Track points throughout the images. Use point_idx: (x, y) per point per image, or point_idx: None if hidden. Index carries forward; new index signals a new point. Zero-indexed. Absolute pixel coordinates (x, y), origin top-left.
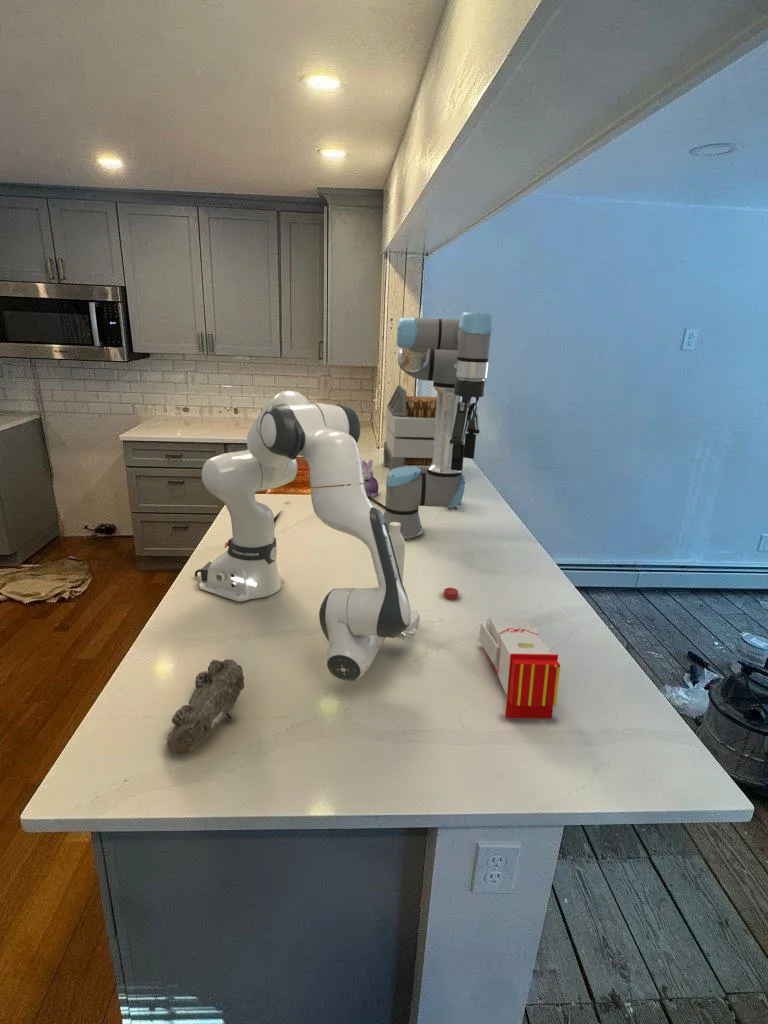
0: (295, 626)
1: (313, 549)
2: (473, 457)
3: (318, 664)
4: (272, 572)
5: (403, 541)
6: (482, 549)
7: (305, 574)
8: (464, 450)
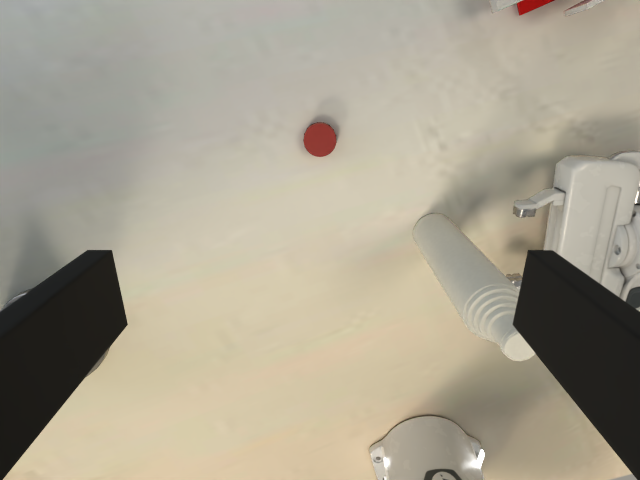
0: None
1: (247, 435)
2: (102, 254)
3: None
4: (442, 451)
5: (499, 291)
6: (15, 124)
7: (350, 406)
8: (94, 359)
